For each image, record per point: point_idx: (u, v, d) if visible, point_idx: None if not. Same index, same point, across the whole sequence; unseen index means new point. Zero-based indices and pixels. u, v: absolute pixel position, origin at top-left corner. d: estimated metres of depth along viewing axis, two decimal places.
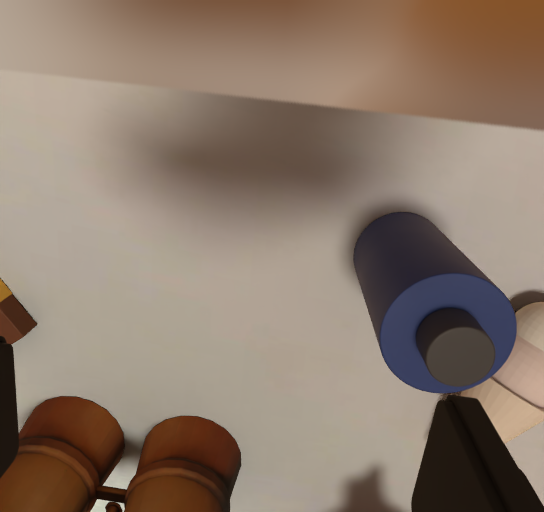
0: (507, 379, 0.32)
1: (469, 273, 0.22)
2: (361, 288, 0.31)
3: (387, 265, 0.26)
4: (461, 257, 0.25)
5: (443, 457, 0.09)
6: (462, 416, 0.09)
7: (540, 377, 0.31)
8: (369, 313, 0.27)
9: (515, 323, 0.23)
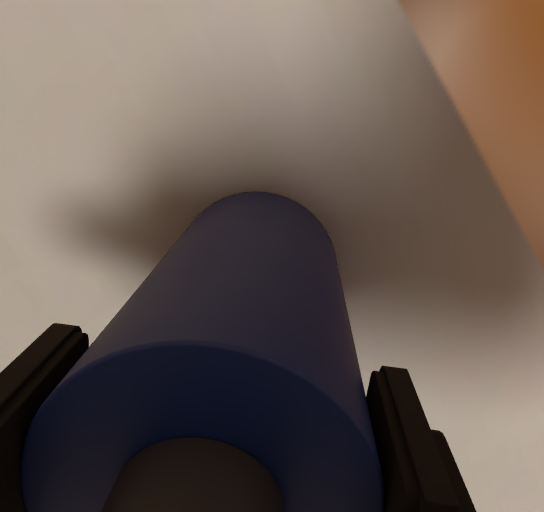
0: None
1: (367, 432, 0.08)
2: None
3: (232, 259, 0.11)
4: (359, 369, 0.11)
5: (372, 421, 0.10)
6: (389, 383, 0.10)
7: None
8: None
9: None
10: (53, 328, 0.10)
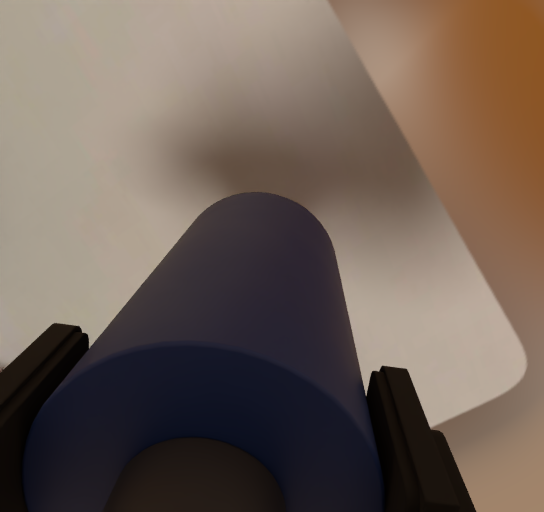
0: None
1: (367, 432, 0.08)
2: None
3: (233, 260, 0.11)
4: (359, 369, 0.11)
5: (372, 421, 0.10)
6: (389, 383, 0.10)
7: None
8: None
9: None
10: (53, 328, 0.10)
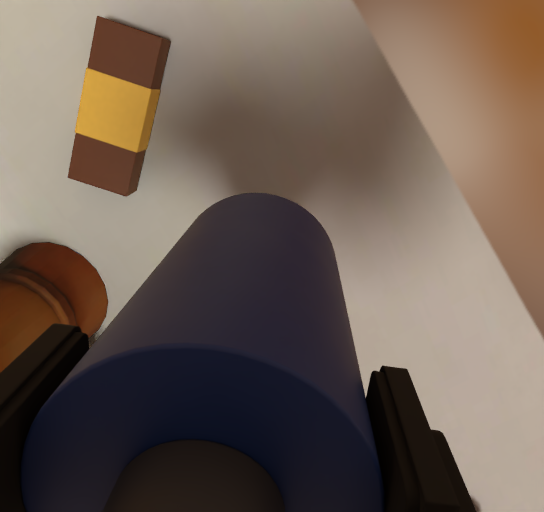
0: None
1: (367, 435, 0.08)
2: None
3: (232, 262, 0.11)
4: (359, 370, 0.11)
5: (372, 422, 0.10)
6: (389, 383, 0.10)
7: None
8: None
9: None
10: (53, 328, 0.10)
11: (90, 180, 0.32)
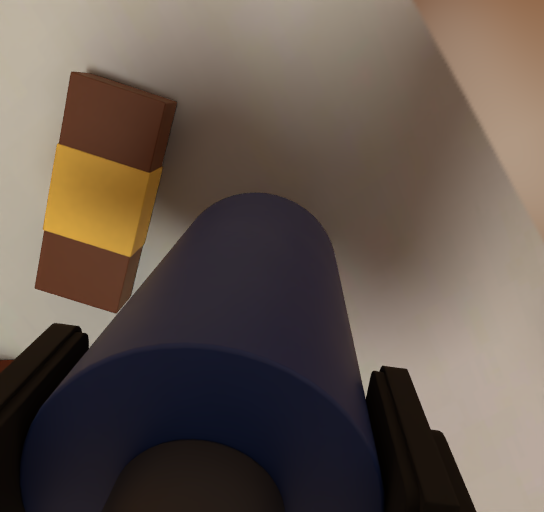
0: None
1: (367, 435, 0.08)
2: None
3: (232, 261, 0.11)
4: None
5: (372, 421, 0.10)
6: (389, 383, 0.10)
7: None
8: None
9: None
10: (53, 328, 0.10)
11: (66, 292, 0.23)
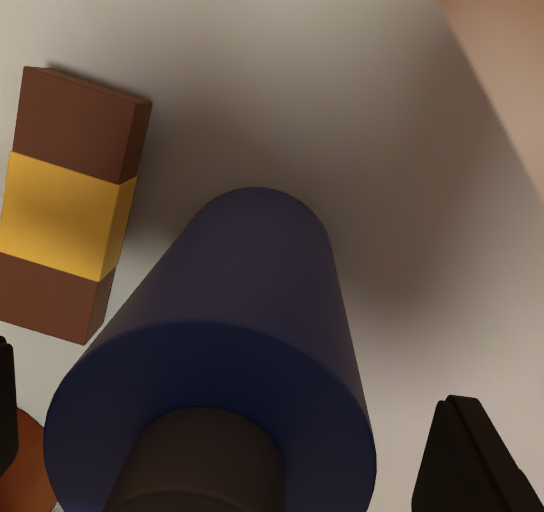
0: None
1: (360, 402, 0.09)
2: None
3: (235, 249, 0.12)
4: (353, 350, 0.12)
5: (443, 457, 0.09)
6: (462, 416, 0.09)
7: None
8: (131, 295, 0.12)
9: None
10: None
11: (25, 322, 0.20)
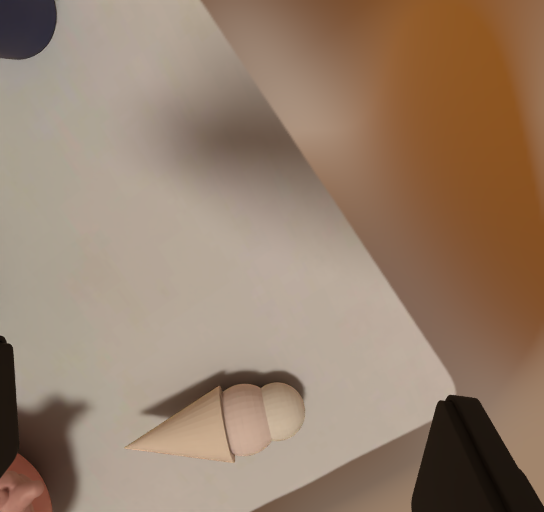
0: (229, 417, 0.37)
1: None
2: None
3: None
4: None
5: (443, 457, 0.09)
6: (462, 416, 0.09)
7: (250, 433, 0.37)
8: None
9: None
10: None
11: None
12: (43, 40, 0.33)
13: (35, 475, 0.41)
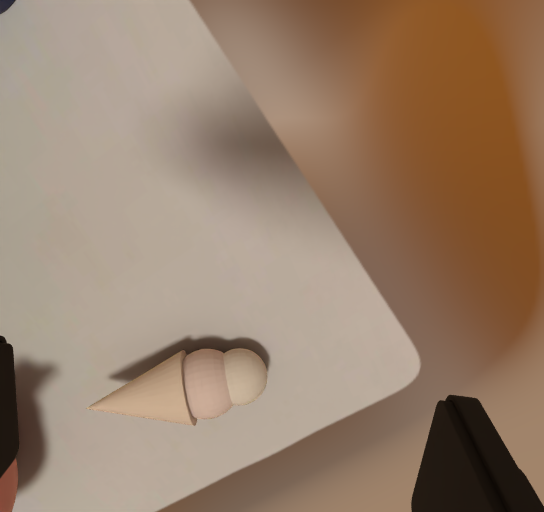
0: (189, 379, 0.38)
1: None
2: None
3: None
4: None
5: (443, 457, 0.09)
6: (462, 416, 0.09)
7: (209, 395, 0.37)
8: None
9: None
10: None
11: None
12: None
13: None
